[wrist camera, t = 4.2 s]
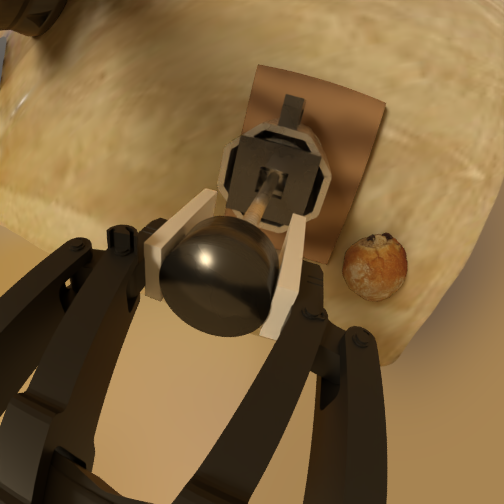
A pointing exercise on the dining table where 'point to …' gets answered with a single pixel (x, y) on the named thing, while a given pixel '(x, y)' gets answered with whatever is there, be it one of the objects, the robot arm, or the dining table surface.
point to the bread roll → (375, 267)
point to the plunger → (226, 267)
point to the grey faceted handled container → (277, 168)
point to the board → (331, 138)
